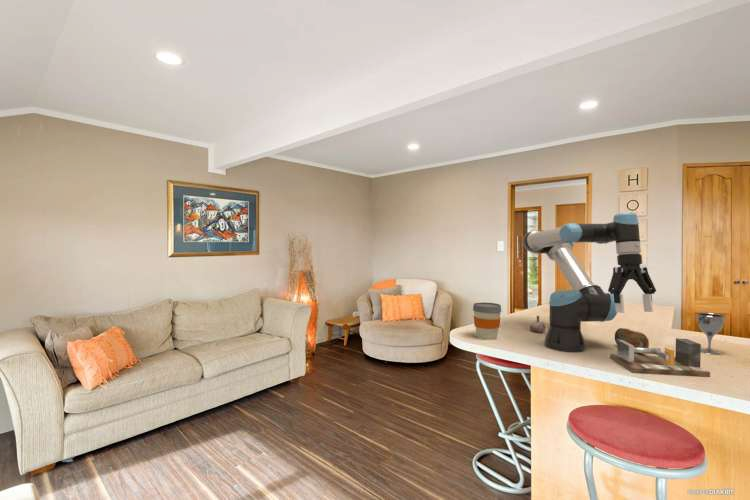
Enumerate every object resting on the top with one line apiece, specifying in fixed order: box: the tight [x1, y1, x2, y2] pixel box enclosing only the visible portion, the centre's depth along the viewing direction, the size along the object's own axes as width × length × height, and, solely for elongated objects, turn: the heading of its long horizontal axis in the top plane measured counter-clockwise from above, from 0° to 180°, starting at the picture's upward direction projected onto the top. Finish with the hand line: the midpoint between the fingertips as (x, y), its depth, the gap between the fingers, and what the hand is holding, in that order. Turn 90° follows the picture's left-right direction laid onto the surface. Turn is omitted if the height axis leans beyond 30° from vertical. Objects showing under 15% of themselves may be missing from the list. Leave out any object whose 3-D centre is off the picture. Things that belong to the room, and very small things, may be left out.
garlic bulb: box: [529, 315, 547, 334], centre depth 181 cm, size 8×7×8 cm
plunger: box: [617, 340, 669, 362], centre depth 129 cm, size 12×11×6 cm
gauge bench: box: [609, 337, 711, 378], centre depth 130 cm, size 23×16×10 cm
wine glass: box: [696, 312, 725, 356], centre depth 148 cm, size 8×8×15 cm
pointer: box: [664, 347, 675, 365], centre depth 124 cm, size 1×3×5 cm, turn 171°
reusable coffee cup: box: [472, 302, 502, 340], centre depth 170 cm, size 13×13×15 cm
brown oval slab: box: [614, 327, 650, 348], centre depth 150 cm, size 15×3×8 cm, turn 6°
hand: (634, 312), depth 134 cm, fingers open, 13 cm apart
